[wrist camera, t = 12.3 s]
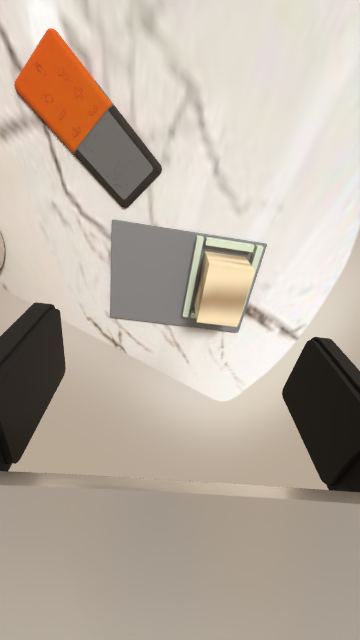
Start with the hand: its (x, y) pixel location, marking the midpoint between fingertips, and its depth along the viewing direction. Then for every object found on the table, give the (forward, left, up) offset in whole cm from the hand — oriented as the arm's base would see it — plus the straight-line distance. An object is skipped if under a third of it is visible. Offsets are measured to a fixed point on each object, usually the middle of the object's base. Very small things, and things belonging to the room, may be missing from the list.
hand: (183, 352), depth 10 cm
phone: (-10, +8, -27) cm, 30 cm away
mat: (+2, -8, -26) cm, 28 cm away
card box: (+7, -7, -26) cm, 28 cm away
